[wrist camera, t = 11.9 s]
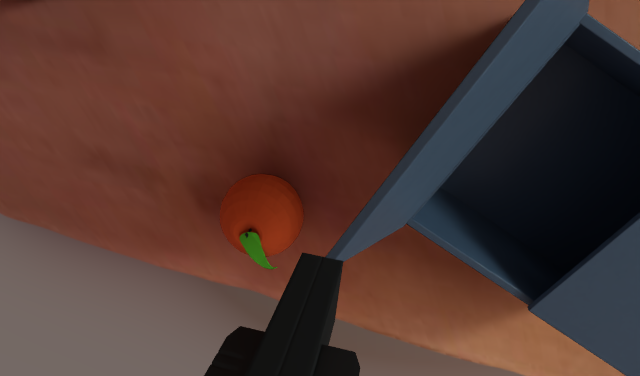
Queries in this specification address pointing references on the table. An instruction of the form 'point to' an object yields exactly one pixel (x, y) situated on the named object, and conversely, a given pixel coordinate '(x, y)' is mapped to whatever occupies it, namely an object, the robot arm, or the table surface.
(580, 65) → the carton
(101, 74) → the table surface
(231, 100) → the table surface
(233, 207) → the clementine
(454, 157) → the flap
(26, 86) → the table surface
